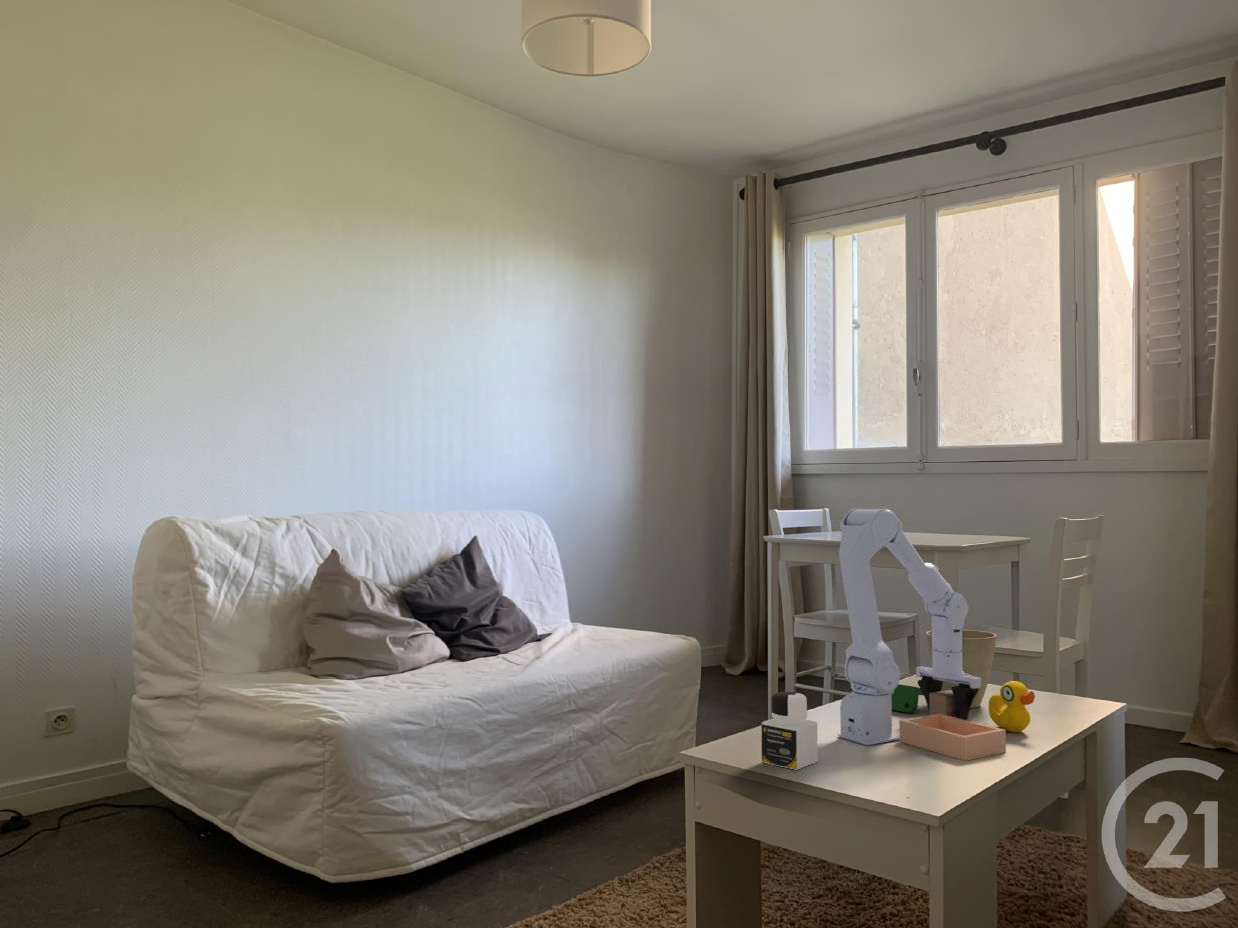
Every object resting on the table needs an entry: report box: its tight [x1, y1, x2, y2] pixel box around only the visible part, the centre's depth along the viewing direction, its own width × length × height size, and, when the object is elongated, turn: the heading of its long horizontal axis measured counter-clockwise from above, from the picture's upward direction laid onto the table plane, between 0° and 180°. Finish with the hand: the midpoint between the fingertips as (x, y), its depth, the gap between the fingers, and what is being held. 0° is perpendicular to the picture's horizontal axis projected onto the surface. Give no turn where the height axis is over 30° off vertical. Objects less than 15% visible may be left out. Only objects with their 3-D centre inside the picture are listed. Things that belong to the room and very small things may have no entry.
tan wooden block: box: [929, 690, 956, 718], centre depth 184 cm, size 6×4×7 cm, turn 120°
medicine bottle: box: [760, 691, 819, 771], centre depth 160 cm, size 7×7×12 cm
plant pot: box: [925, 629, 997, 709], centre depth 206 cm, size 15×15×16 cm
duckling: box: [988, 680, 1036, 733], centre depth 182 cm, size 11×5×10 cm, turn 19°
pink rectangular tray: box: [898, 714, 1007, 761], centre depth 170 cm, size 11×15×4 cm
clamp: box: [891, 683, 924, 714], centre depth 202 cm, size 12×6×9 cm, turn 38°
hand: (948, 718), depth 184 cm, fingers open, 6 cm apart
